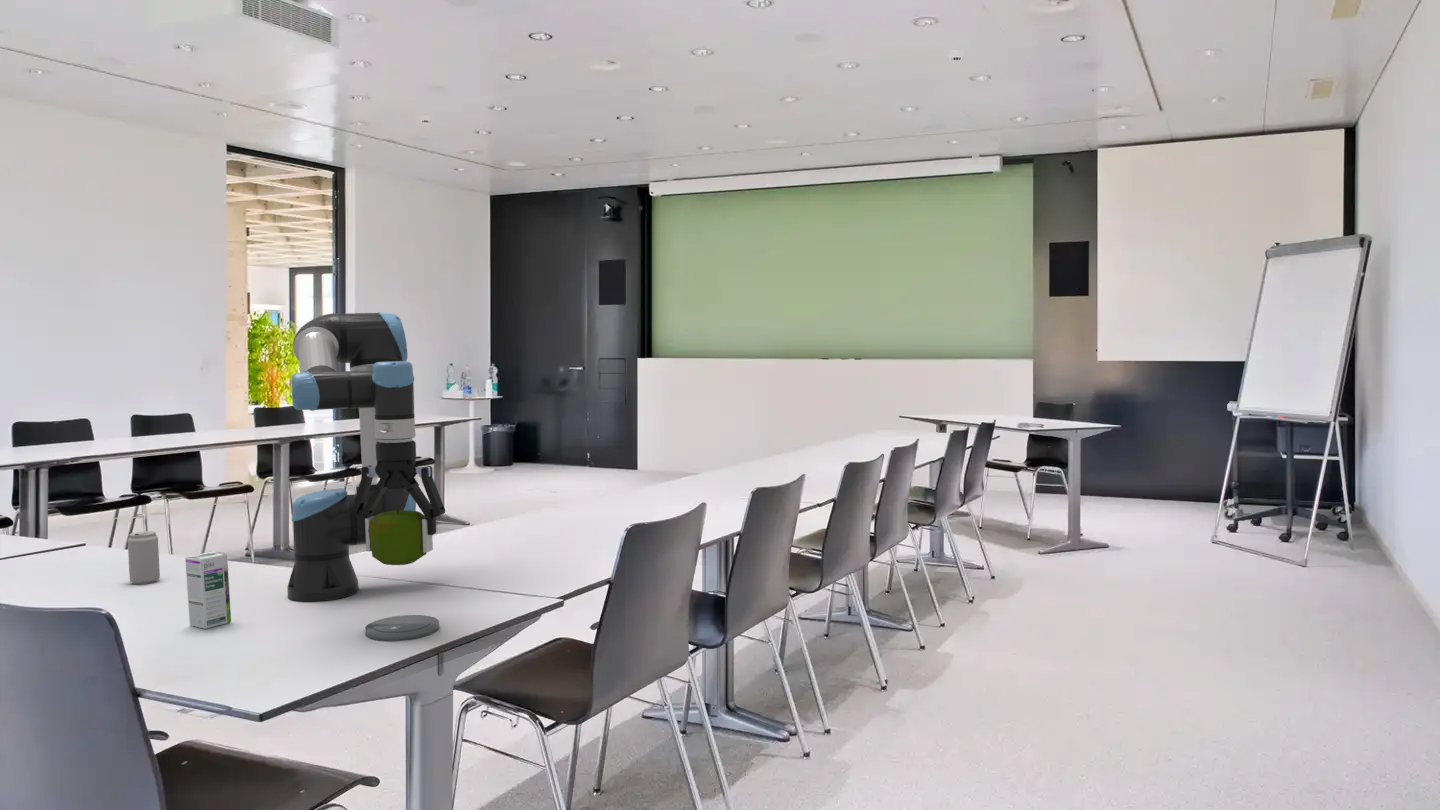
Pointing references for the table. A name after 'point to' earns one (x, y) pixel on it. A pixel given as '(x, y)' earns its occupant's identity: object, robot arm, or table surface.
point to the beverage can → (143, 557)
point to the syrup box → (208, 589)
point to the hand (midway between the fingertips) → (399, 550)
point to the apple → (397, 537)
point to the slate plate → (402, 627)
